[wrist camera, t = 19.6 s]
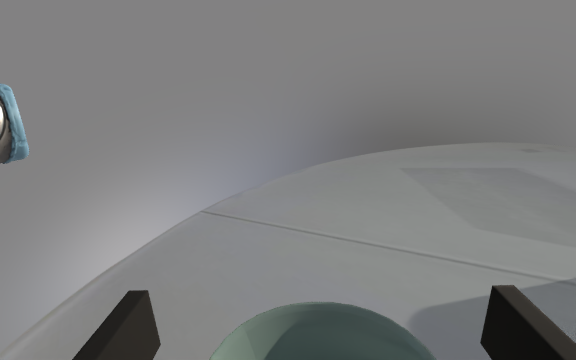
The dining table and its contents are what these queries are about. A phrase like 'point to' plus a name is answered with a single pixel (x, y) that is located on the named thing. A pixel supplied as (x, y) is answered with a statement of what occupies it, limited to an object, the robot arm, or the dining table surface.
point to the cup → (321, 336)
